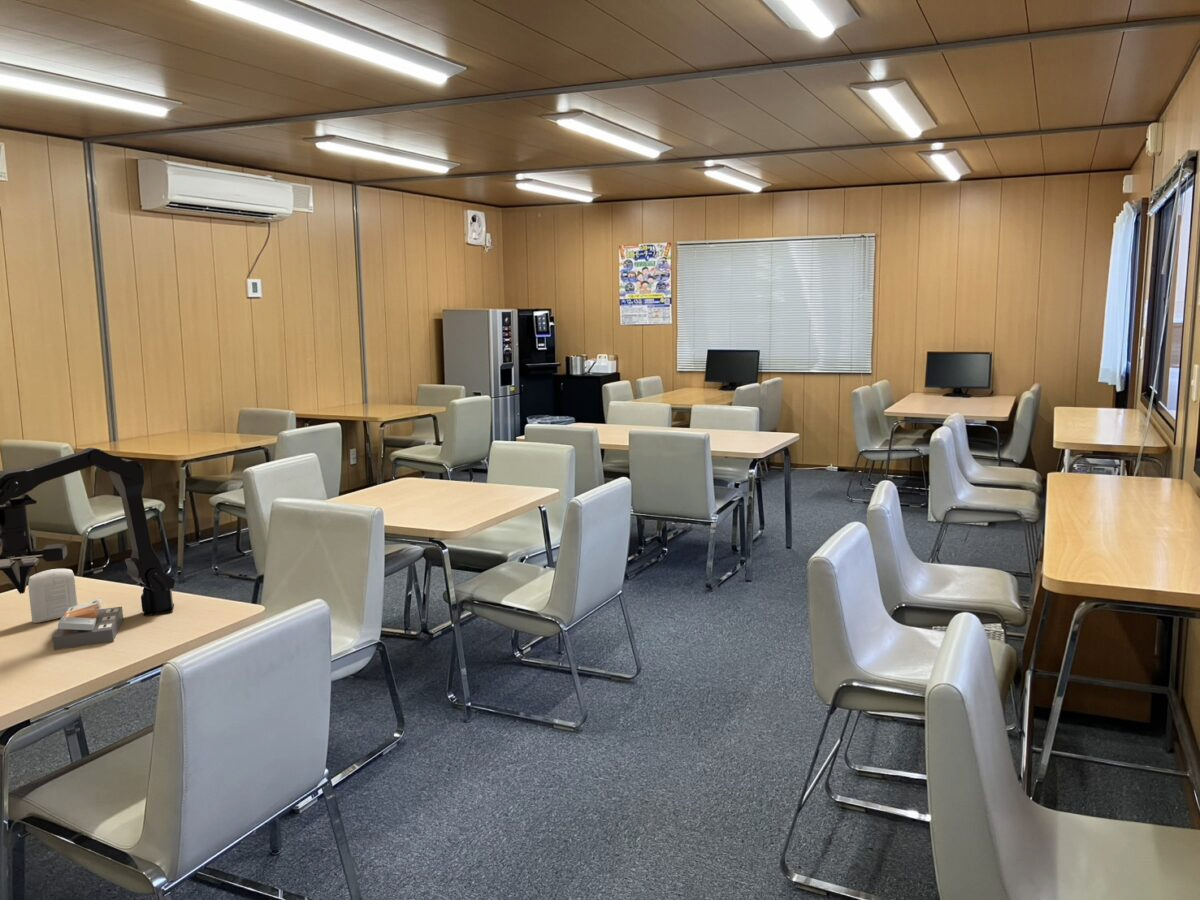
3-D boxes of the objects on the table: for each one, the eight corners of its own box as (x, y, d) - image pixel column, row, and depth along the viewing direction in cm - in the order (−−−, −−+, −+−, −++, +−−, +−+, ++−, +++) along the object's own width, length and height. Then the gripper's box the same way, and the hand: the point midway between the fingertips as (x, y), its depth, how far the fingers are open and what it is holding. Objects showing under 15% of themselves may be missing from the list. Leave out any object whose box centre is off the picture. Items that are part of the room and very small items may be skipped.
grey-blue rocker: (95, 624, 211) (96, 618, 211) (92, 630, 206) (93, 624, 206) (61, 622, 208) (62, 616, 208) (57, 628, 204) (58, 622, 204)
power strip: (123, 617, 224) (121, 604, 224) (113, 641, 208) (111, 626, 207) (68, 625, 220) (66, 611, 219) (53, 650, 203) (52, 634, 203)
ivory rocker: (102, 603, 221) (100, 597, 221) (99, 608, 217) (97, 603, 217) (71, 612, 219) (69, 607, 219) (67, 618, 215) (65, 613, 215)
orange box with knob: (99, 611, 216) (97, 605, 216) (96, 617, 212) (94, 611, 211) (66, 619, 214) (64, 613, 213) (62, 625, 209) (61, 619, 209)
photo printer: (76, 610, 231) (70, 564, 229) (81, 614, 228) (75, 567, 226) (30, 621, 224) (24, 573, 222) (34, 625, 221) (28, 576, 219)
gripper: (67, 514, 213) (75, 578, 216) (-26, 523, 207) (-17, 588, 209) (58, 524, 203) (66, 591, 205) (-40, 533, 196) (-30, 602, 199)
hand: (22, 593), depth 205 cm, fingers closed
